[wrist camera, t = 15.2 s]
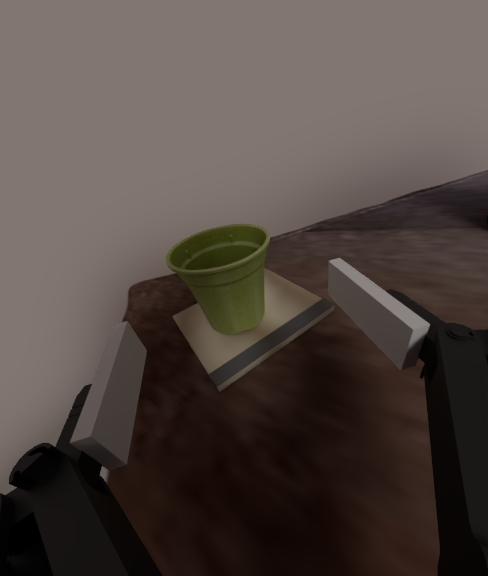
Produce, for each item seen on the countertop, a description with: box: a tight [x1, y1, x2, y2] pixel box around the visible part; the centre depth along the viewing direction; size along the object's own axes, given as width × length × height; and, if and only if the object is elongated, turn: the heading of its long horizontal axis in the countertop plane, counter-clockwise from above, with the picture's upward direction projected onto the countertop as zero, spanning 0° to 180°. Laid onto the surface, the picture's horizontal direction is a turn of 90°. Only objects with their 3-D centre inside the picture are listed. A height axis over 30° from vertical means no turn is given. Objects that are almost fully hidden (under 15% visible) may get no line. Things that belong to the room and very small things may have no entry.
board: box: [172, 268, 334, 393], centre depth 26 cm, size 14×12×1 cm
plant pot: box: [166, 224, 270, 335], centre depth 23 cm, size 9×9×9 cm
